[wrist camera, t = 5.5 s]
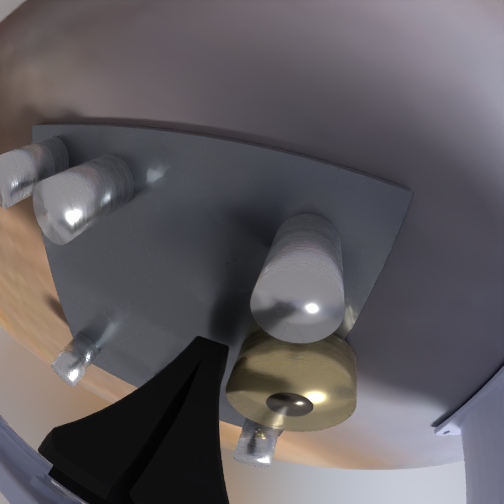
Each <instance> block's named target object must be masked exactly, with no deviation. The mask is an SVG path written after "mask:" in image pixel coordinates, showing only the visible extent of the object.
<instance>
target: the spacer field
mask: <svg viewBox="0 0 504 504" xmlns="http://www.w3.org/2000/svg"><path fill="white" fill-rule="evenodd" d="M413 194H414V193H413V192H412V191H411V190H410V189H409V188H406V187H404V186H401V185H398V184H396V183H393V182H390V181H387V180H385V179H382V178H379V177H376V176H373V175H370V174H367V173H364V172H361V171H358V170H355V169H352V168H348V167H345V166H342V165H339V164H335V163H332V162H328V161H325V160H321V159H318V158H314V157H311V156H307V155H303V154H299V153H295V152H291V151H287V150H283V149H279V148H274V147H270V146H265V145H261V144H256V143H251V142H246V141H241V140H236V139H231V138H225V137H220V136H214V135H207V134H201V133H194V132H187V131H180V130H172V129H163V128H154V127H144V126H132V125H117V124H96V123H42V124H36V125H33V126H32V143H31V144H28V145H25V146H22V147H20V148H17V149H14V150H11V151H9V152H6V153H3V154H1V155H0V206H1V207H3V208H5V209H6V208H9V207H10V206H12V205H14V204H16V203H18V202H19V201H21V200H23V199H25V198H27V197H29V196H31V195H33V208H34V213H35V216H36V219H37V222H38V224H39V226H40V228H41V230H42V235H43V240H44V245H45V249H46V253H47V258H48V262H49V266H50V269H51V273H52V277H53V280H54V284H55V287H56V290H57V294H58V297H59V300H60V303H61V306H62V309H63V312H64V315H65V318H66V320H67V323H68V326H69V328H70V331H71V334H72V336H73V339H72V340H71V341H70V342H69V343H68V345H67V346H66V347H65V348H64V349H63V350H62V352H61V353H60V354H59V355H58V356H57V357H56V359H55V360H54V361H53V362H52V363H51V366H52V368H53V370H54V371H55V372H56V374H57V375H58V376H59V377H60V378H61V379H62V380H64V381H65V382H66V383H68V384H69V385H71V386H73V387H74V386H75V385H76V384H77V383H78V381H79V380H80V379H81V377H82V376H83V375H84V373H85V372H86V371H87V369H88V368H89V367H90V365H91V364H94V365H96V366H98V367H99V368H101V369H103V370H105V371H107V372H108V373H110V374H112V375H114V376H116V377H118V378H120V379H122V380H124V381H126V382H128V383H130V384H132V385H134V386H136V387H138V388H139V387H141V386H142V385H144V384H145V383H146V382H147V381H149V380H150V379H151V378H153V377H154V376H155V375H157V374H158V373H159V372H160V371H161V370H163V369H164V368H165V367H166V366H167V365H168V364H169V363H170V362H172V361H173V360H174V359H175V358H176V357H177V356H178V355H179V354H180V353H181V352H182V351H183V350H184V349H185V348H186V347H187V346H188V345H189V344H190V343H191V342H192V340H193V339H194V338H195V337H196V336H201V337H204V338H207V339H210V340H213V341H216V342H219V343H222V344H225V345H227V346H228V347H229V353H228V358H227V364H226V369H225V373H224V376H223V379H222V383H221V387H220V398H219V420H220V421H223V422H226V423H230V424H233V425H236V426H240V427H243V428H242V431H241V434H240V437H239V440H238V443H237V446H236V449H235V452H234V455H233V458H234V459H235V460H236V461H238V462H240V463H243V464H246V465H250V466H255V467H268V466H270V465H271V462H272V459H273V455H274V451H275V447H276V442H277V438H278V437H279V436H280V434H281V433H282V432H283V430H280V429H275V428H271V427H267V426H264V425H261V424H259V423H257V422H254V421H252V420H250V419H248V418H247V417H245V416H243V415H242V414H241V413H239V412H238V411H237V410H236V409H235V408H234V407H233V406H232V405H231V404H230V402H229V401H228V399H227V396H226V392H225V390H226V385H227V382H228V380H229V377H230V375H231V372H232V369H233V367H234V364H235V362H236V359H237V356H238V354H239V351H240V349H241V346H242V344H243V342H244V341H245V340H246V339H247V338H248V337H249V336H250V335H251V334H252V333H254V332H256V331H258V330H260V329H263V330H264V331H265V332H267V333H268V334H270V335H271V336H273V337H275V338H277V339H280V340H283V341H286V342H291V343H310V342H315V341H319V340H321V339H324V338H326V337H327V336H329V335H330V334H332V333H335V334H336V335H338V336H340V337H341V338H342V339H344V340H345V339H346V337H347V335H348V334H349V332H350V330H351V328H352V327H353V325H354V323H355V321H356V319H357V318H358V316H359V314H360V312H361V310H362V308H363V306H364V305H365V303H366V301H367V299H368V297H369V295H370V293H371V291H372V289H373V287H374V285H375V283H376V281H377V279H378V277H379V275H380V273H381V271H382V269H383V266H384V264H385V262H386V260H387V258H388V255H389V253H390V251H391V249H392V246H393V244H394V242H395V240H396V237H397V235H398V232H399V230H400V228H401V225H402V223H403V220H404V218H405V215H406V212H407V210H408V207H409V205H410V202H411V199H412V196H413Z"/></svg>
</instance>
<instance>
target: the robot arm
mask: <svg viewBox="0 0 504 504" xmlns="http://www.w3.org/2000/svg"><path fill="white" fill-rule="evenodd" d="M228 353H229V347H228V346H227V345H225V344H222V343H219V342H216V341H213V340H210V339H207V338H204V337H201V336H196V337H195V338H194V339H193V340H192V342H191V343H190V344H189V345H188V346H187V347H186V348H185V349H184V350H183V351H182V352H181V353H180V354H179V355H178V356H177V357H176V358H175V359H174V360H173V361H172V362H170V363H169V364H168V365H167V366H166V367H165V368H164V369H163V370H161V371H160V372H159V373H158V374H157V375H155V376H154V377H153V378H151V379H150V380H149V381H147V382H146V383H145V384H144V385H142V386H141V387H139V388H138V389H137V390H135V391H134V392H132V393H130V394H129V395H127V396H126V397H124V398H123V399H121V400H119V401H117V402H115V403H114V404H112V405H110V406H108V407H106V408H104V409H103V410H100V411H98V412H96V413H93V414H91V415H89V416H87V417H85V418H82V419H79V420H77V421H74V422H71V423H67V424H64V425H61V426H58V427H55V428H53V429H52V431H51V432H50V433H49V434H48V435H47V436H46V438H45V439H44V440H43V442H42V444H41V445H40V447H39V448H38V452H39V453H40V454H41V455H42V456H43V457H44V458H43V457H42V456H41V455H40V454H39V453H37V452H36V451H35V450H34V449H33V448H32V447H30V446H29V445H28V444H27V443H26V442H25V441H24V440H23V439H22V438H21V437H20V436H19V435H18V434H17V433H16V432H15V431H14V430H13V429H11V427H10V426H9V425H8V423H7V422H6V421H5V420H4V419H3V418H2V416H1V415H0V492H1V493H2V494H3V495H4V497H5V498H6V499H7V500H8V501H9V503H10V504H82V503H81V502H80V501H79V500H81V501H82V502H84V503H86V504H229V500H228V496H227V491H226V486H225V481H224V474H223V466H222V460H221V450H220V435H219V398H220V387H221V383H222V379H223V376H224V373H225V369H226V364H227V358H228ZM434 433H435V435H461V436H462V443H463V451H464V461H465V472H466V495H467V504H504V366H503V367H502V368H501V369H500V370H499V371H498V372H497V373H496V374H495V375H494V377H493V378H492V379H491V380H490V381H489V382H488V383H487V384H486V385H485V386H484V387H483V388H482V389H481V390H480V391H479V392H478V393H477V394H476V395H474V396H473V397H472V398H471V399H470V400H469V401H468V402H467V403H466V404H465V405H463V406H462V407H461V408H460V409H459V410H458V411H457V412H455V413H454V414H453V415H452V416H451V417H449V418H448V419H447V420H446V421H444V422H443V423H442V424H441V425H439V426H438V427H437V428H436V429H435V430H434ZM45 458H46V459H47V460H48V461H49V462H48V461H47V460H46V459H45ZM51 463H52V464H53V465H52V464H51ZM51 480H53V481H54V482H55V483H56V484H58V485H59V486H60V487H62V488H63V489H62V488H60V487H58V486H57V485H55V484H53V483H52V482H51ZM64 489H65V490H66V491H65V490H64ZM68 492H69V493H68ZM71 494H72V495H71ZM74 496H75V497H76V498H78V499H79V500H77V499H76V498H75V497H74Z"/></svg>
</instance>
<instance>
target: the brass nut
mask: <svg viewBox="0 0 504 504" xmlns="http://www.w3.org/2000/svg"><path fill="white" fill-rule="evenodd" d="M225 392H226V396H227V399H228V401H229V402H230V404H231V405H232V406H233V407H234V408H235V409H236V410H237V411H238V412H239V413H241V414H242V415H243V416H245V417H247V418H248V419H250V420H252V421H254V422H257V423H259V424H261V425H264V426H267V427H271V428H275V429H280V430H286V431H297V432H306V431H317V430H323V429H327V428H330V427H333V426H336V425H338V424H340V423H342V422H343V421H345V420H346V419H348V418H349V417H350V416H351V415H352V414H353V412H354V410H355V408H356V397H357V364H356V356H355V353H354V351H353V349H352V348H351V347H350V345H349V344H348V343H347V342H346V341H345V340H344V339H342V338H341V337H340V336H338V335H336V334H335V333H332V334H330V335H329V336H327V337H326V338H324V339H321V340H319V341H315V342H310V343H291V342H286V341H283V340H280V339H277V338H275V337H273V336H271V335H270V334H268V333H267V332H265V331H264V330H263V329H260V330H258V331H256V332H254V333H252V334H251V335H250V336H249V337H248V338H247V339H246V340H245V341H244V342H243V344H242V346H241V349H240V351H239V354H238V356H237V359H236V362H235V364H234V367H233V369H232V372H231V375H230V377H229V380H228V382H227V385H226V390H225Z"/></svg>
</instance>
